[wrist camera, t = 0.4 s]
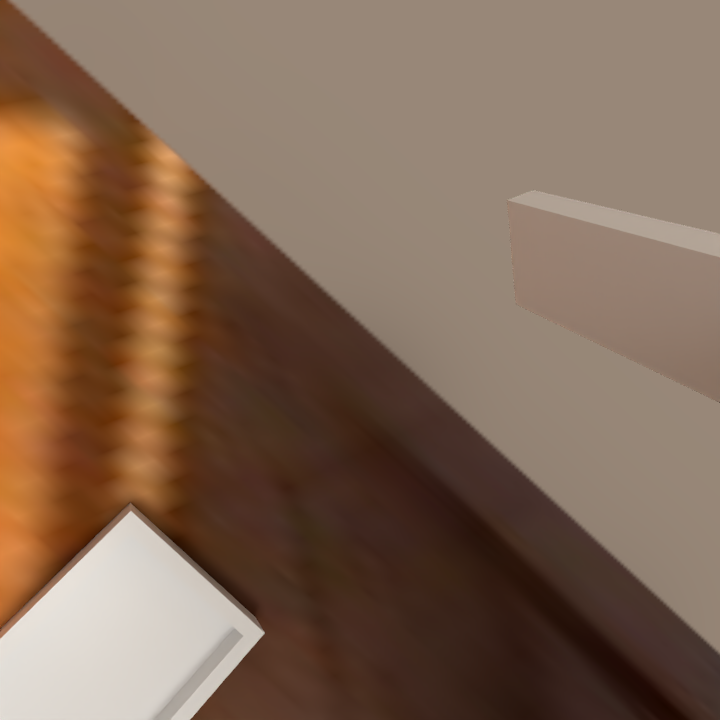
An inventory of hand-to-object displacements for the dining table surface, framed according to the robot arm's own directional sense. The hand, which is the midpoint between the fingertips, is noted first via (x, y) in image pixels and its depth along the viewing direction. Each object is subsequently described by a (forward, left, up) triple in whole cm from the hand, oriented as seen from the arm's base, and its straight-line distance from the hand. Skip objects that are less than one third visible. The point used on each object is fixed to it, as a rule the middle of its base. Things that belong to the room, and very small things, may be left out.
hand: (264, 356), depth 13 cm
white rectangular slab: (-10, +15, -30) cm, 35 cm away
